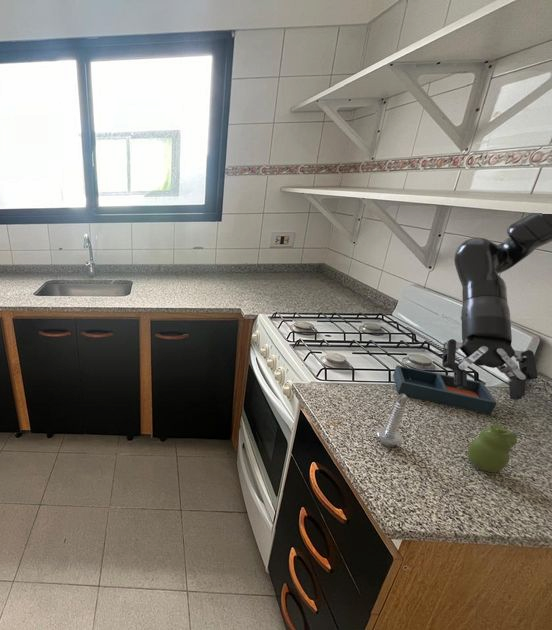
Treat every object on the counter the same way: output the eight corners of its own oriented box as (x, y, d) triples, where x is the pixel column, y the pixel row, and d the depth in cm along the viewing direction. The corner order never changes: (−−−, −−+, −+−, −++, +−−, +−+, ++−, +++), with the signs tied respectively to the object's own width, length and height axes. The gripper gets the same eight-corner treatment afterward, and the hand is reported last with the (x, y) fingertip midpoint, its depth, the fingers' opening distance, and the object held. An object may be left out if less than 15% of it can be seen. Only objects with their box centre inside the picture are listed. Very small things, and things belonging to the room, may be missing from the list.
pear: (457, 460, 71) (476, 422, 67) (472, 453, 72) (492, 415, 68) (491, 481, 66) (514, 441, 62) (507, 473, 68) (530, 433, 64)
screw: (378, 431, 78) (403, 444, 75) (369, 441, 76) (394, 454, 72) (395, 384, 73) (423, 395, 70) (386, 392, 71) (414, 404, 67)
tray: (477, 393, 91) (482, 382, 89) (490, 415, 83) (496, 403, 82) (392, 375, 99) (396, 364, 97) (397, 393, 91) (401, 382, 90)
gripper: (453, 309, 75) (454, 382, 70) (542, 320, 70) (550, 399, 65) (436, 322, 81) (436, 389, 76) (516, 332, 76) (522, 405, 71)
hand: (488, 393), depth 70 cm, fingers open, 8 cm apart
